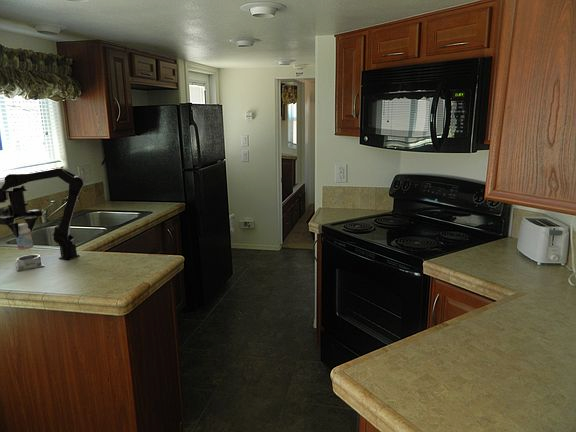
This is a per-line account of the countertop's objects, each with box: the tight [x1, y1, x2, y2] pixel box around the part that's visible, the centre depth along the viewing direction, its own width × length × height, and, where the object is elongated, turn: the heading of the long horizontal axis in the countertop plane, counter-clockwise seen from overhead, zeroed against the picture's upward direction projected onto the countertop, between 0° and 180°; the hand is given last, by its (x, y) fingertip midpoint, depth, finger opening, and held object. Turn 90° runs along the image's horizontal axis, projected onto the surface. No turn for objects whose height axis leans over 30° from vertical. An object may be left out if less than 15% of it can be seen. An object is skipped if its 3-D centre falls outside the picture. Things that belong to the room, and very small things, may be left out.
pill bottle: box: [15, 222, 34, 251], centre depth 193 cm, size 6×6×11 cm
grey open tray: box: [15, 253, 45, 272], centre depth 191 cm, size 14×10×4 cm
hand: (23, 235), depth 193 cm, fingers closed on pill bottle, 6 cm apart
